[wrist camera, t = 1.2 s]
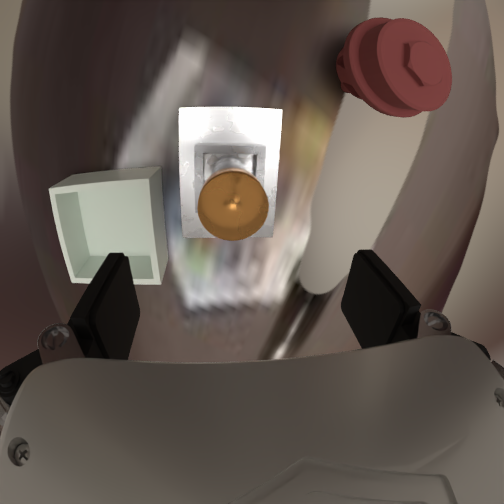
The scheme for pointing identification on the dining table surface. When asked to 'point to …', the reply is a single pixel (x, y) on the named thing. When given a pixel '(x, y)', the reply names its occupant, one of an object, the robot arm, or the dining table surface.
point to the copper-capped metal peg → (232, 201)
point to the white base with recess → (226, 155)
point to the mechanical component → (395, 67)
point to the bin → (112, 222)
